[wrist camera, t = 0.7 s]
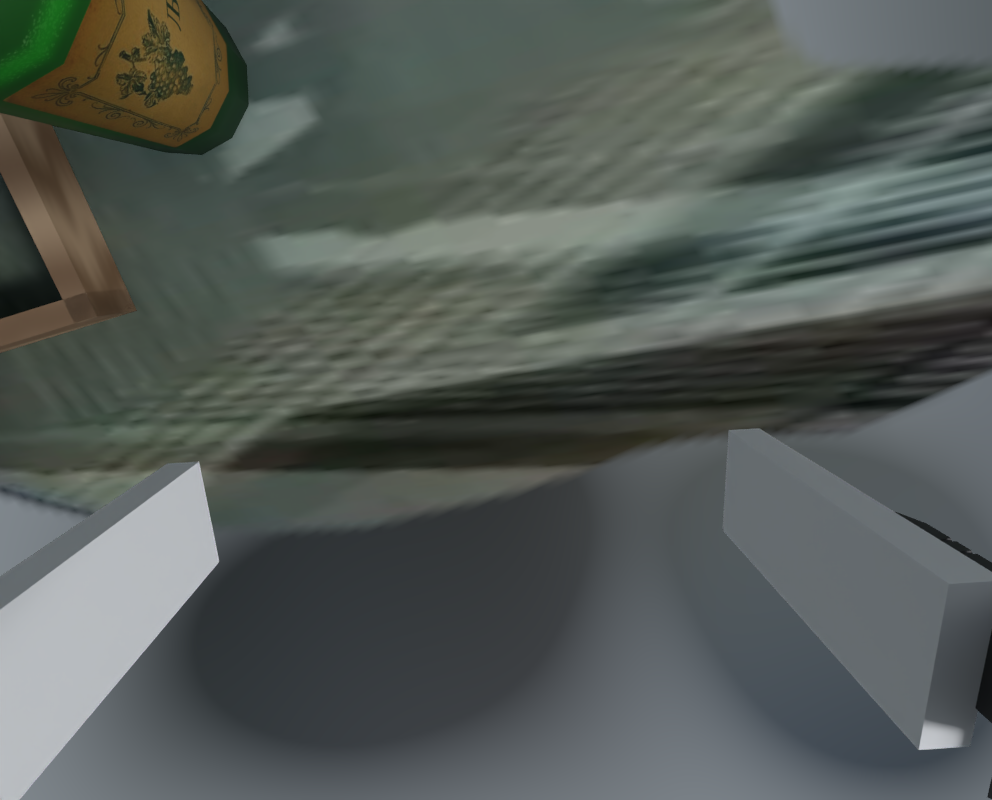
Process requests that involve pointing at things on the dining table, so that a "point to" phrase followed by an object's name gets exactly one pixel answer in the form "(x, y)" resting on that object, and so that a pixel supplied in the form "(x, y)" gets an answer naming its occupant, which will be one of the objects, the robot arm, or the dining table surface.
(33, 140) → the brown wooden u-shaped piece
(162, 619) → the robot arm
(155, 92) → the bottle
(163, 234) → the dining table surface
